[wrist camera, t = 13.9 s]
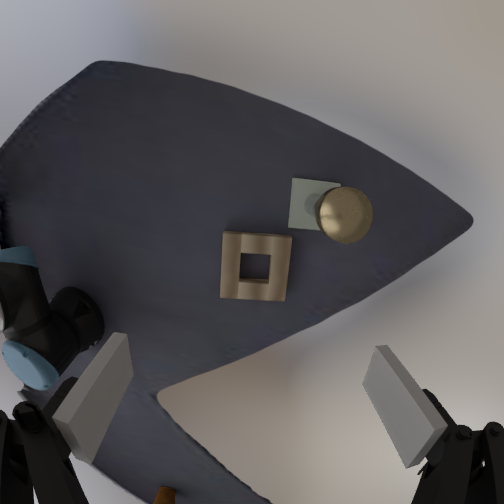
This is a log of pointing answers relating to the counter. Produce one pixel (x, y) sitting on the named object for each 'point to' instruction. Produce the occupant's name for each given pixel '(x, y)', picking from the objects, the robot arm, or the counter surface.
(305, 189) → the rubber mat
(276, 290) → the plate
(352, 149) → the counter surface
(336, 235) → the steel peg
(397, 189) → the counter surface
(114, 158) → the counter surface
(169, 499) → the orange pill bottle
